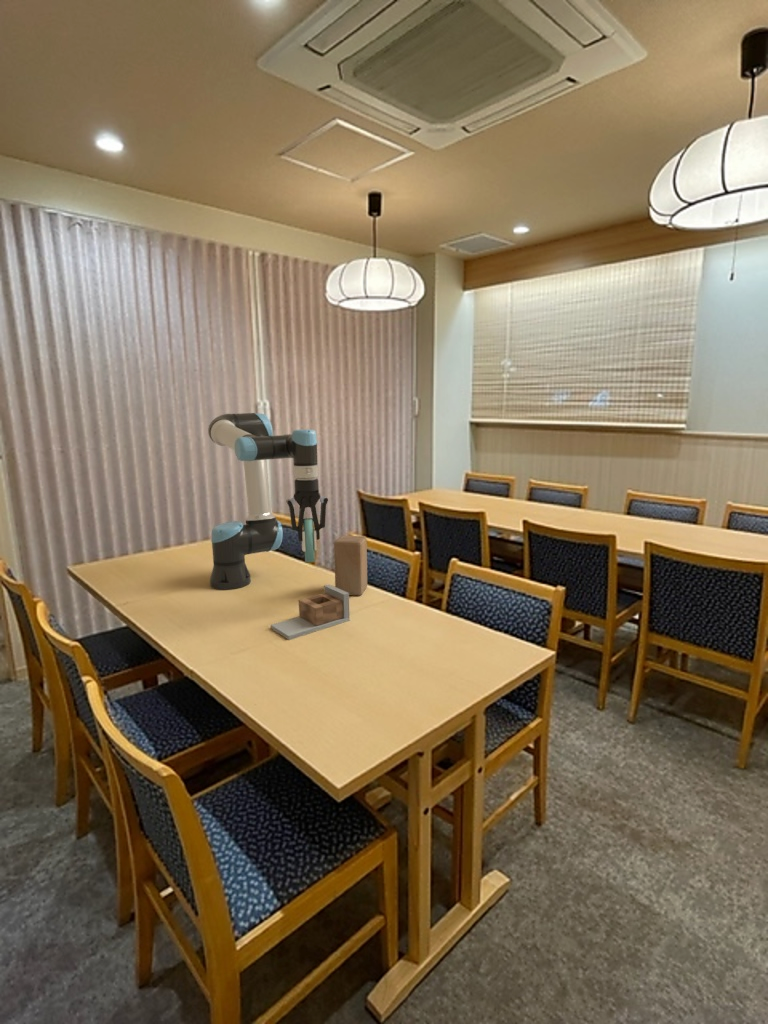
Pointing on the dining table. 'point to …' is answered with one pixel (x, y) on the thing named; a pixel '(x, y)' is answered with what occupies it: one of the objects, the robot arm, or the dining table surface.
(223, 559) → the robot arm
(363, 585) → the block
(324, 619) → the walnut block
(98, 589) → the dining table surface
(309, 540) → the teal dowel
